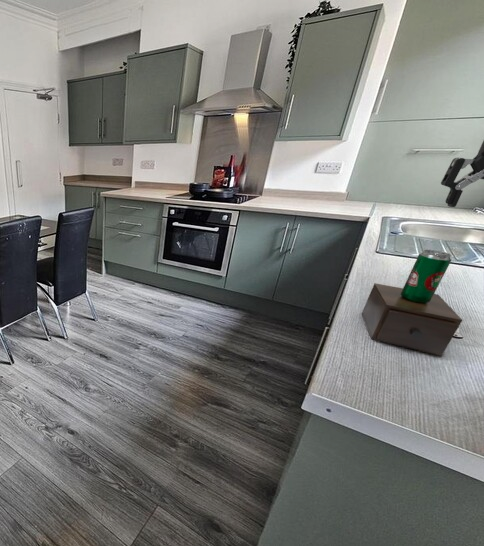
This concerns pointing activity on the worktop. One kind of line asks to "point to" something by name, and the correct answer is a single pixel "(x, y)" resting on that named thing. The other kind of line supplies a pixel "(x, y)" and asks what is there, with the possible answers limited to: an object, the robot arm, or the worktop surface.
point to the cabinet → (402, 309)
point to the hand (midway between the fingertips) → (479, 208)
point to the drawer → (416, 331)
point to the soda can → (426, 276)
